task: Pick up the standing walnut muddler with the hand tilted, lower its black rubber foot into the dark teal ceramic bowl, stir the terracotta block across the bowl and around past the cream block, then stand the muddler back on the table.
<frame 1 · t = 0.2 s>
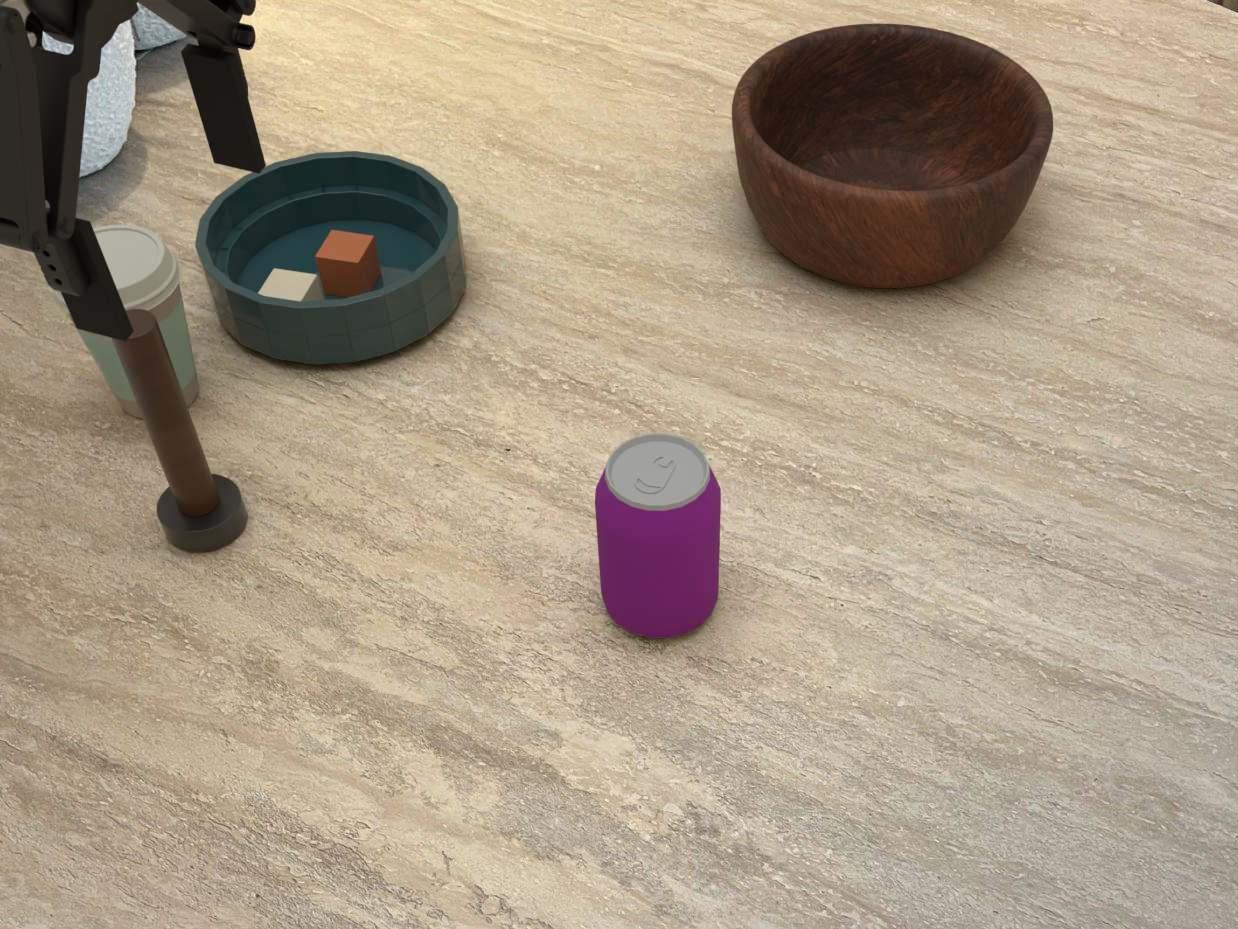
hand: (176, 243, 75), 27 cm above the table, tool pointing down, fingers open, 13 cm apart
terracotta block: (352, 283, 115), point 1 cm above the table, touching stir bowl
muddler: (206, 522, 100), on the table
coffee cup: (159, 395, 108), on the table
wooden bowl: (878, 219, 122), on the table
beverage can: (660, 603, 96), on the table
stir bowl: (342, 290, 116), on the table
cream block: (296, 322, 112), point 1 cm above the table, touching stir bowl
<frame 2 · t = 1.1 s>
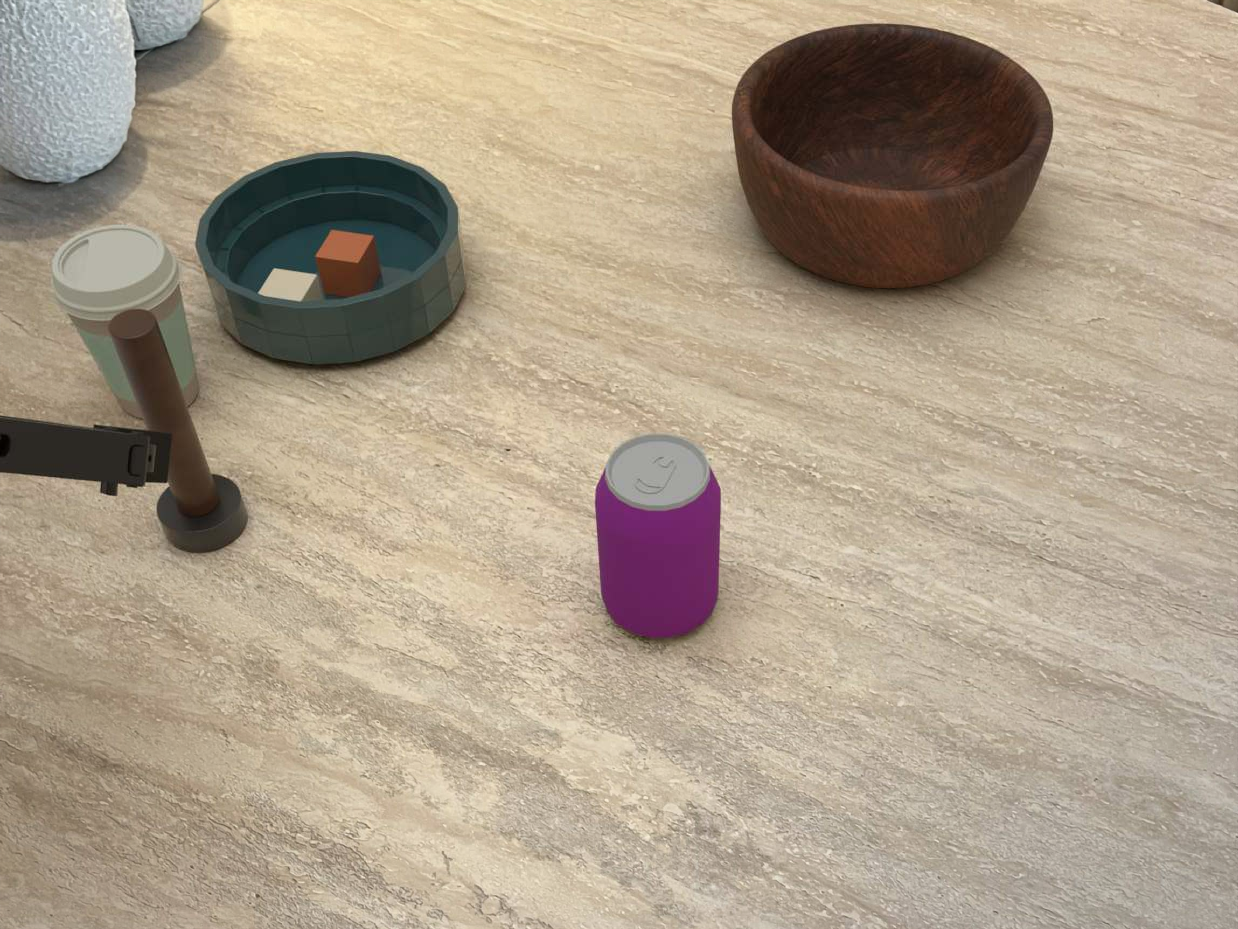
hand: (48, 438, 80), 17 cm above the table, tool tilted 45°, fingers open, 13 cm apart
nothing on the table moved.
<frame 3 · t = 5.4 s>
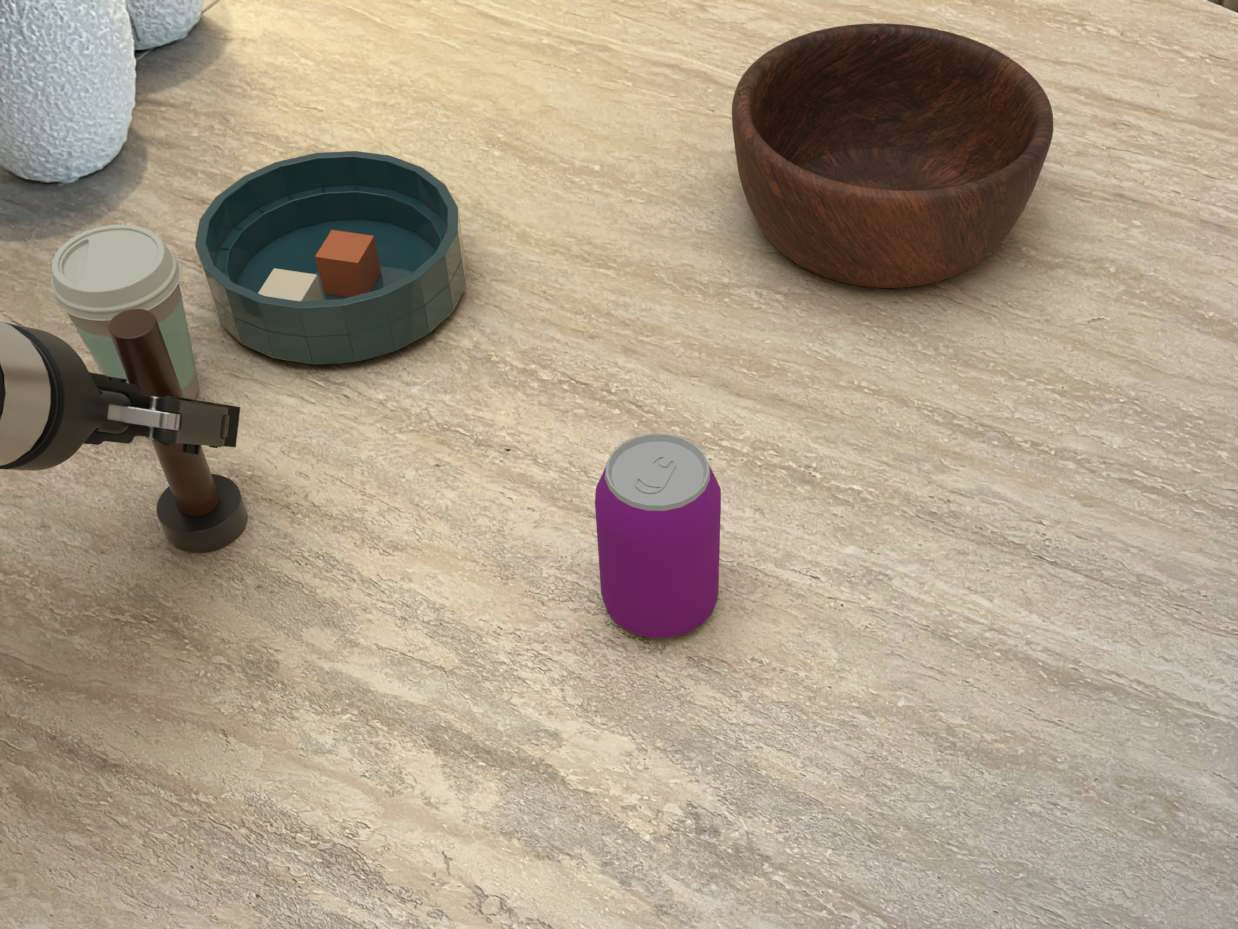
hand: (207, 422, 98), 6 cm above the table, tool tilted 45°, fingers closed on muddler, 3 cm apart
muddler: (206, 522, 100), on the table, touching gripper
everything else where it was.
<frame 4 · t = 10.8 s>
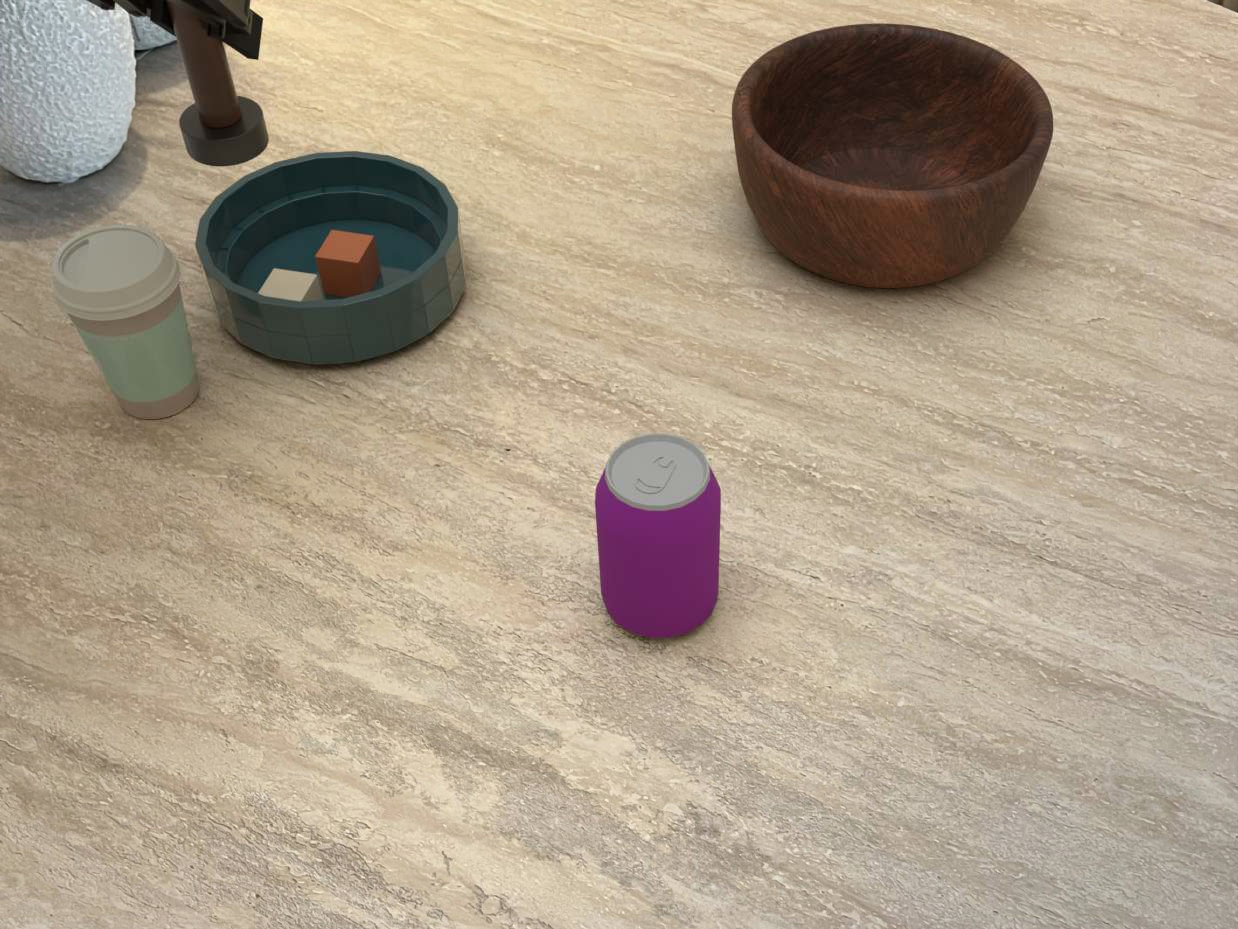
hand: (230, 35, 99), 21 cm above the table, tool tilted 45°, fingers closed on muddler, 3 cm apart
muddler: (228, 143, 101), point 15 cm above the table, touching gripper
everything else where it was.
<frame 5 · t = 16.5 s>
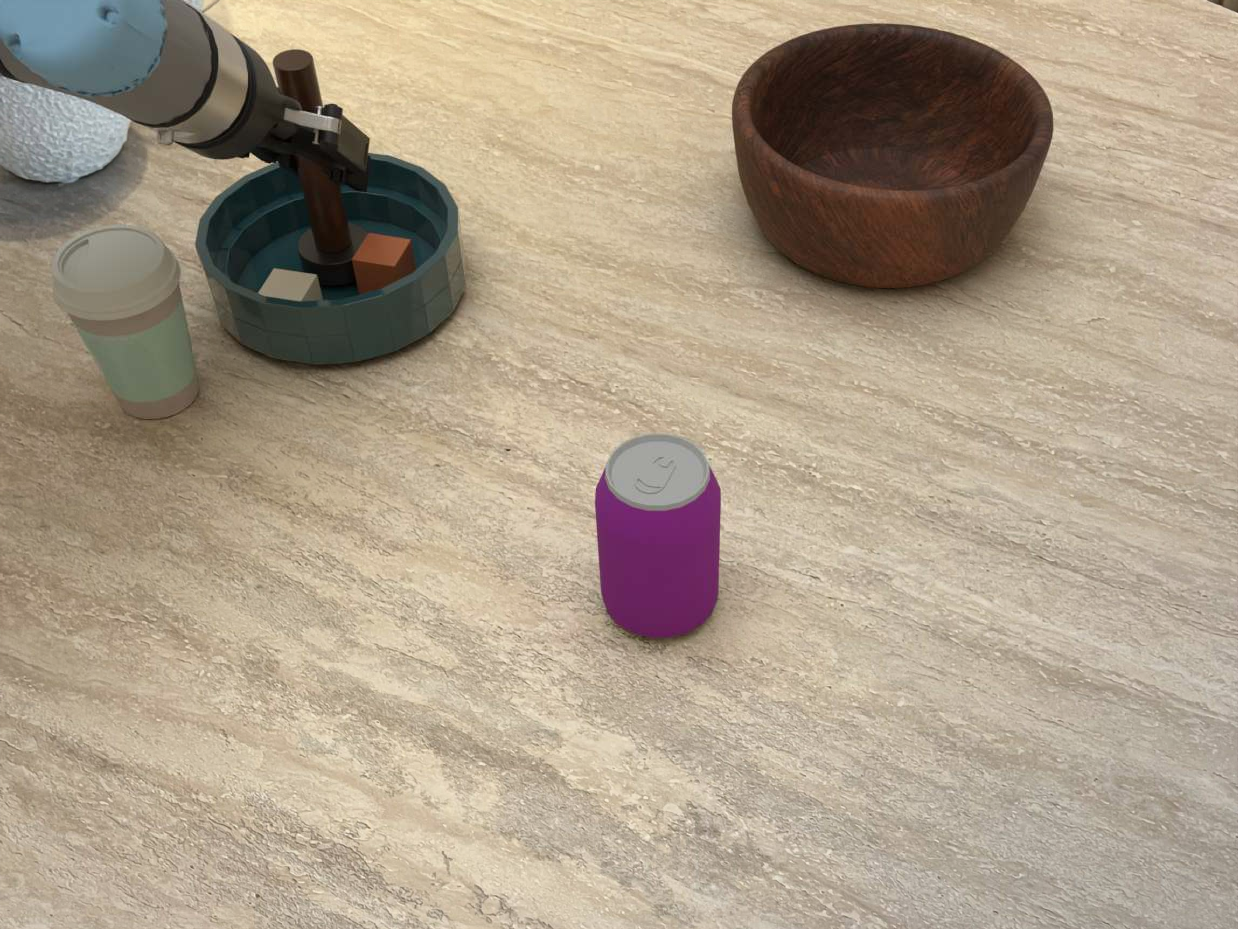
hand: (342, 171, 113), 7 cm above the table, tool tilted 45°, fingers closed on muddler, 3 cm apart
terracotta block: (388, 286, 115), point 1 cm above the table, touching stir bowl
muddler: (338, 263, 115), point 1 cm above the table, touching gripper
everything else where it was.
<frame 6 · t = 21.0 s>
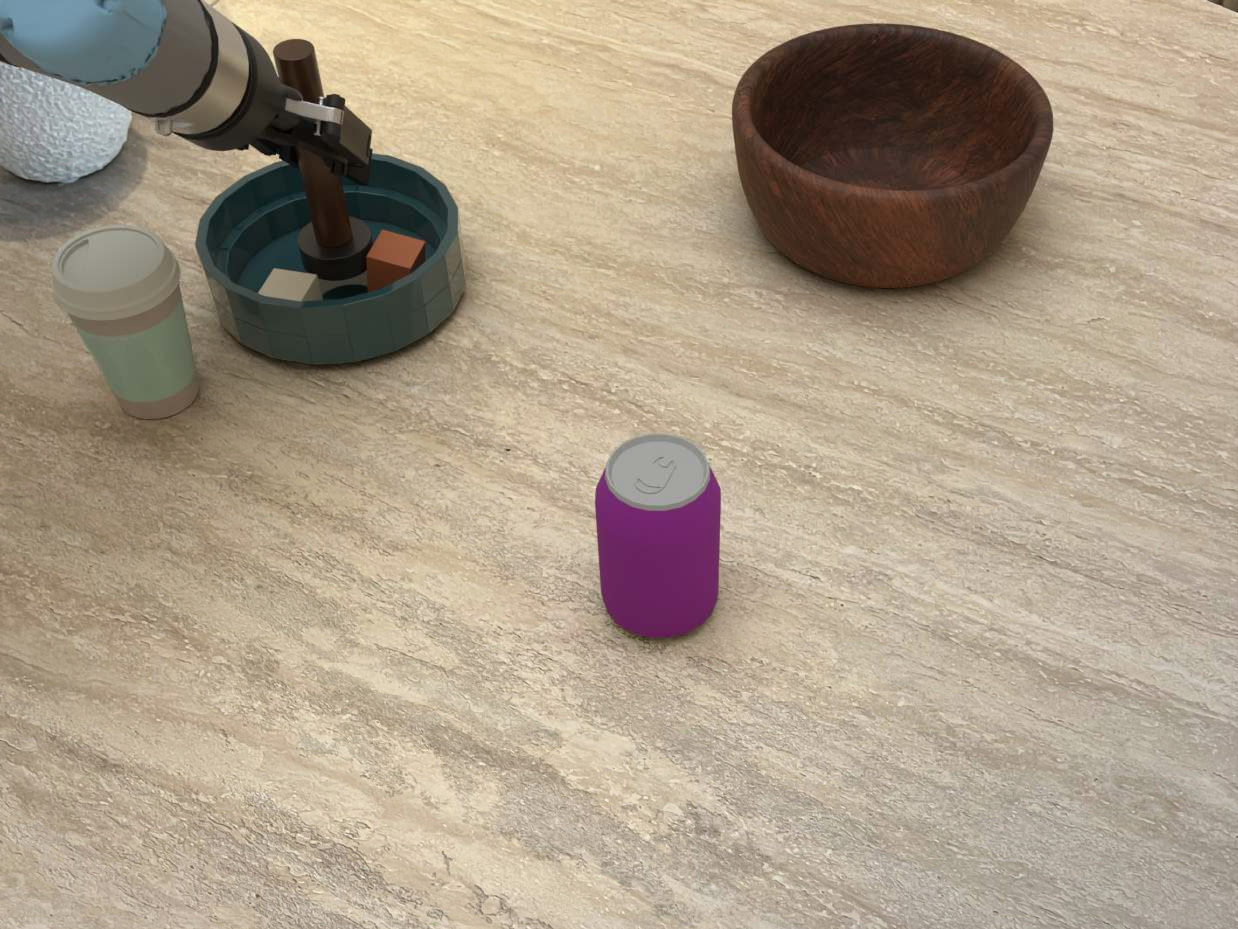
hand: (343, 163, 111), 9 cm above the table, tool tilted 45°, fingers closed on muddler, 3 cm apart
terracotta block: (396, 285, 114), point 1 cm above the table, tilted 9°, touching stir bowl
muddler: (339, 258, 113), point 3 cm above the table, touching gripper
everything else where it was.
when the fingers open (6 cm above the table, at t = 28.7 s): muddler stays where it is, on the table.
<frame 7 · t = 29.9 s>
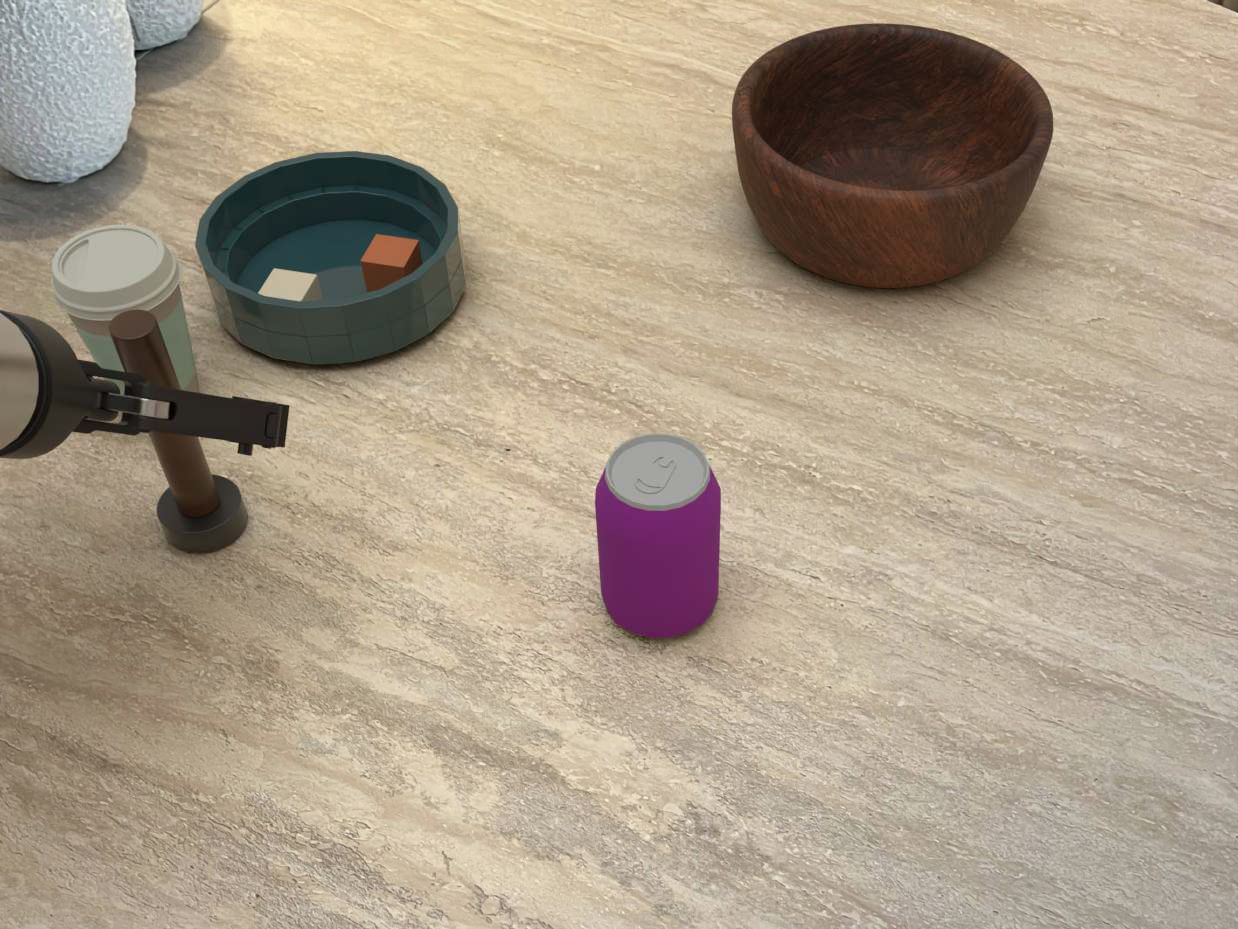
hand: (183, 409, 95), 8 cm above the table, tool tilted 45°, fingers open, 13 cm apart
terracotta block: (396, 287, 115), point 1 cm above the table, touching stir bowl
muddler: (206, 523, 100), on the table
everything else where it was.
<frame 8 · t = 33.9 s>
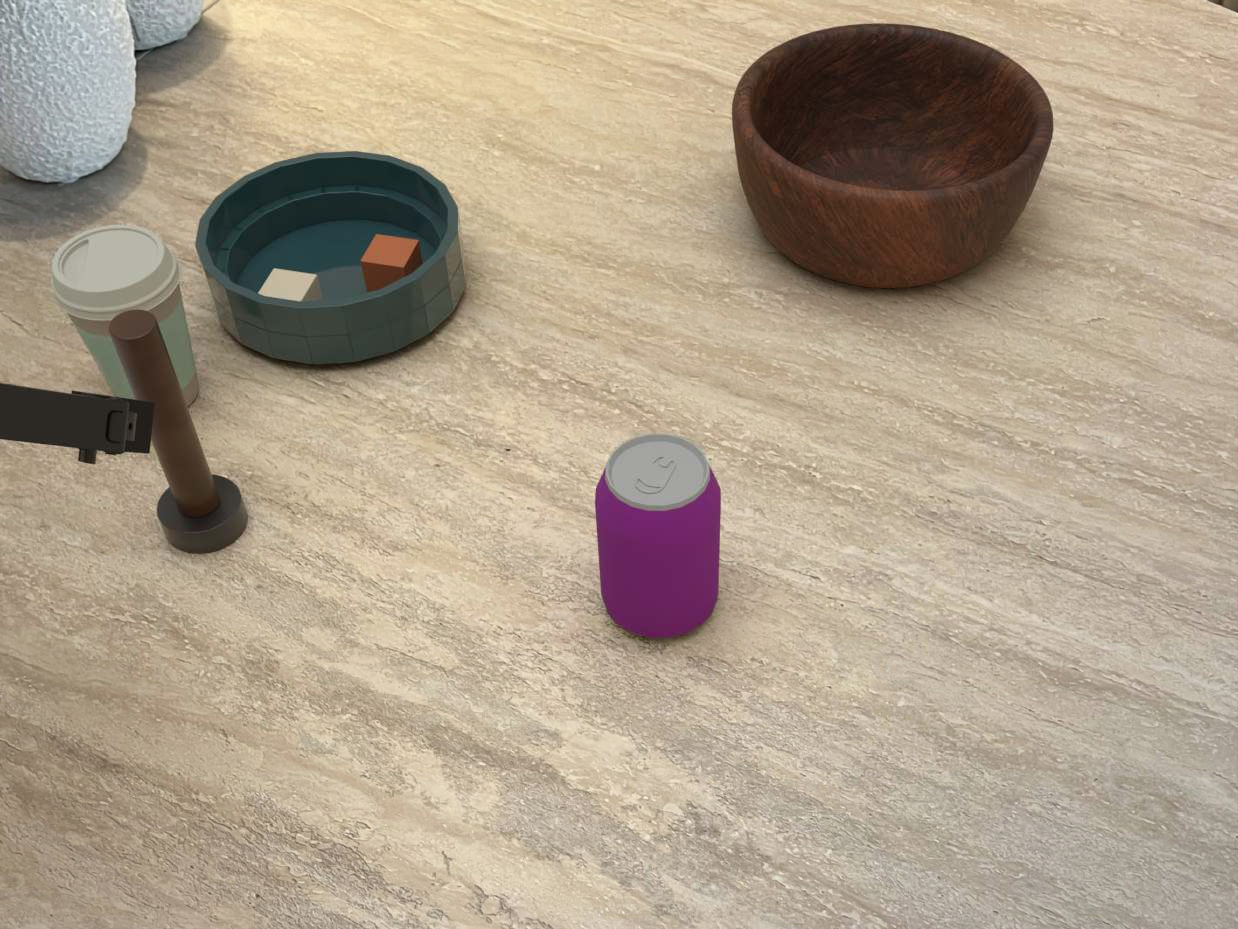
hand: (28, 407, 78), 20 cm above the table, tool tilted 45°, fingers open, 13 cm apart
nothing on the table moved.
at the end: terracotta block moved 3.6 cm from its start; terracotta block inside the target area in the stir bowl (4.6 cm from its centre), point 0.8 cm above the stir bowl's base; cream block inside the target area in the stir bowl (5.7 cm from its centre), point 0.8 cm above the stir bowl's base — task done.
